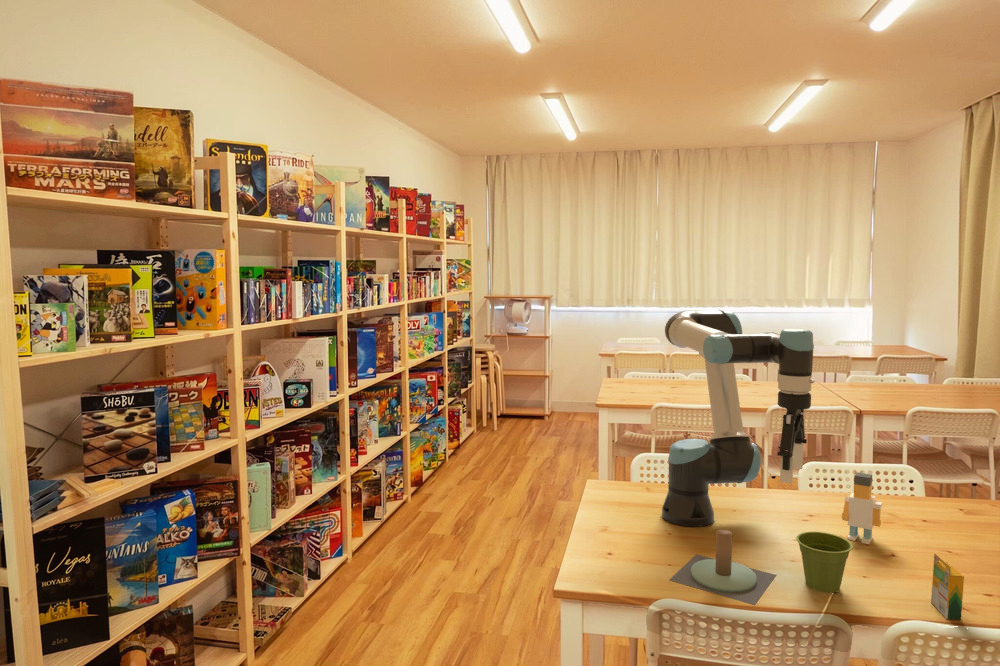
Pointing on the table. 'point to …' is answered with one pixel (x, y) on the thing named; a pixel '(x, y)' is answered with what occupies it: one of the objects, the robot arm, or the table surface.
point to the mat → (747, 596)
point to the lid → (723, 569)
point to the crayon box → (947, 589)
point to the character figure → (862, 508)
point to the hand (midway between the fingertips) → (791, 475)
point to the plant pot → (823, 559)
